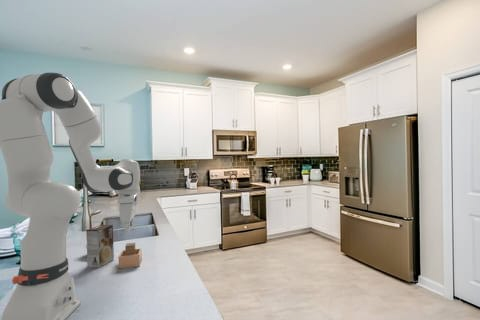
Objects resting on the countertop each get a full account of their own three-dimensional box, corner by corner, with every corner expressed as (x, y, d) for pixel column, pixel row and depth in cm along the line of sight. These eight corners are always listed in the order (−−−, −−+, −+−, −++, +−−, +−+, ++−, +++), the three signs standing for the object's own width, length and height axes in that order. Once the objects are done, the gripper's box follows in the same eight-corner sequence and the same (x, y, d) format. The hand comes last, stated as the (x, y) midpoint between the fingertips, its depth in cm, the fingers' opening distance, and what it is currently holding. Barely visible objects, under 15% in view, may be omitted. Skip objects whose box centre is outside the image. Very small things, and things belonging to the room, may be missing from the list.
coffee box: (102, 258, 119) (101, 224, 119) (114, 259, 118) (113, 224, 118) (86, 267, 110) (85, 229, 110) (99, 268, 109) (98, 230, 109)
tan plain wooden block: (134, 263, 112) (134, 245, 112) (125, 264, 111) (125, 245, 111) (135, 260, 115) (135, 242, 115) (127, 261, 114) (126, 243, 114)
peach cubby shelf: (139, 266, 110) (139, 254, 110) (118, 268, 108) (118, 256, 108) (141, 259, 118) (141, 248, 118) (122, 261, 116) (122, 250, 116)
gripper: (125, 194, 122) (125, 224, 122) (116, 199, 102) (116, 234, 102) (139, 194, 124) (139, 223, 123) (133, 199, 104) (133, 233, 103)
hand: (129, 228), depth 112 cm, fingers open, 8 cm apart
